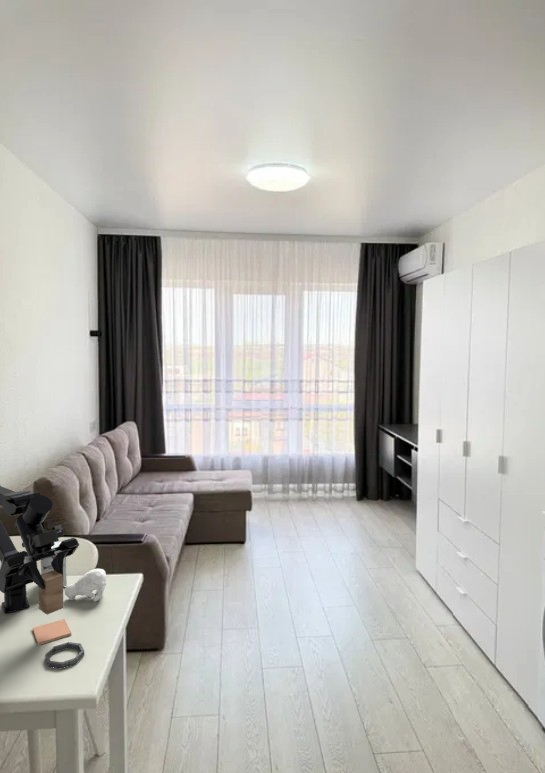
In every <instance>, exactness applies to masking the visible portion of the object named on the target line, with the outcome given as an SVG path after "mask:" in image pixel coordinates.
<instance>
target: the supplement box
mask: <svg viewBox="0 0 545 773" xmlns="http://www.w3.org/2000/svg"><path fill="white" fill-rule="evenodd" d="M62 541H63V540H61V541H57V542H54V543H55V544H54V546H52V547H51V548H52V549H53V548H56V547H58V546H59V545H60V543H61V542H62ZM52 561H53V559H52V557H48V558H45V559H42V560H40V574H41V575H42V574H44V573H47V572H50V571H53V570H54V569H53V567H52V565H51V562H52ZM67 584H68V582H67V557H64V560H63V588H65V587H64V586H66V587H67V586H68V585H67Z"/></svg>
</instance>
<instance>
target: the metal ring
mask: <svg viewBox="0 0 545 773" xmlns="http://www.w3.org/2000/svg"><path fill="white" fill-rule="evenodd" d="M66 648H67V649H71V648H72V649H73V650H78V651H79V653H78V654H76V656H74V657H73V658H70V659H67V660H64V661H55V660H51V657H52V656H54V654H55V653H57V652H60V651H63V650H66ZM84 656H85V649H84V647H83V645H82V643H80V642H79V643H78V642H73V641H70V642H69V641H67V642H64V643H61V644H58V645H54V646H52V648H50V650H49V651H48V652H47V653H45V656H44V660H45V662H46V665H47V668H52V669H59V668H62V669H65V668H68V667H71V666H75V665H77V664H76V663H77V662H78V661H79V662H80V661H81V659H82V658H83V657H84ZM79 662H78V663H79ZM70 665H71V666H70ZM67 666H68V667H67ZM53 667H54V668H53ZM64 667H65V668H64Z"/></svg>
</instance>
